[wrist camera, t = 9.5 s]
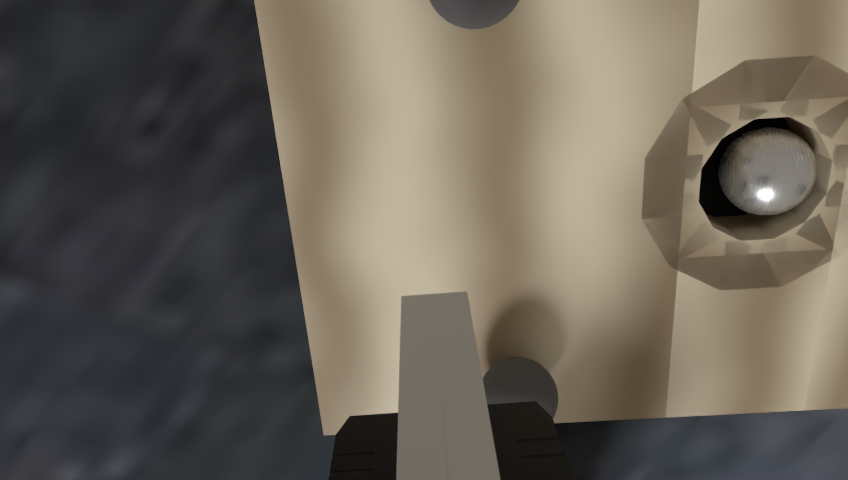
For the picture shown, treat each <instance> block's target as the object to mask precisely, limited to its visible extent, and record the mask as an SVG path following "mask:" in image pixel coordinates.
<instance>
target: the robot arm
mask: <svg viewBox="0 0 848 480" xmlns="http://www.w3.org/2000/svg"><path fill="white" fill-rule="evenodd" d="M329 480H572V477H571V474H570V471H569V468H568V465H567V462H566V458H565V457H564V452H563V449H562V446H561V443H560V441H559V436H558V433H557V430H556V427H555V424H554V421H553V418H552V416H551V415H550V414H549V413H548V412H547V411H546V410H544V409H543V408H542V407H541V406H540V405H539V404H538V403H537V402H536V401H530V402H515V403H501V404H487V401H486V395H485V389H484V384H483V378H482V373H481V367H480V361H479V356H478V350H477V344H476V339H475V333H474V328H473V322H472V316H471V311H470V305H469V299H468V294H467V291H465V292H451V293H437V294H423V295H409V296H401V327H400V363H399V399H398V413H385V414H371V415H357V416H349V418H348V419H347V420H346V422H345V423H344V424H343V426H342V427H341V428H340V430H339V431H338V432H337V434H336V437H335V443H334V450H333V459H332V462H331V468H330V476H329Z"/></svg>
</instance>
